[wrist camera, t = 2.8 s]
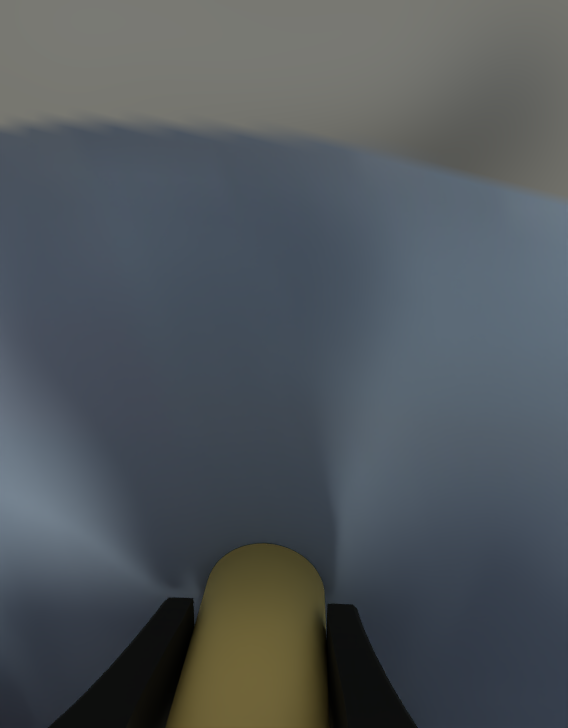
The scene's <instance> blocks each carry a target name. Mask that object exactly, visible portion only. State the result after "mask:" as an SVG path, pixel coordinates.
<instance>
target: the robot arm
mask: <svg viewBox="0 0 568 728" xmlns="http://www.w3.org/2000/svg"><path fill="white" fill-rule="evenodd" d="M193 630H194V606H193V598H168V599H167V600H165V601H164V603H163V604H162V605H161V606H160V608H159V609H158V610H157V612H156V613H155V614H154V615H153V617H152V618H151V619H150V621H149V622H148V623H147V624H146V626H145V627H144V628H143V629H142V630H141V632H140V633H139V634H138V635H137V636H136V638H135V639H134V640H133V641H132V642H131V644H130V645H129V646H128V647H127V648H126V649H125V650H124V652H123V653H122V654H121V655H120V656H119V657H118V659H117V660H116V661H115V662H114V663H113V664H112V665H111V666H110V667H109V669H108V670H107V671H106V672H105V673H104V674H103V675H102V676H101V677H100V678H99V679H98V680H97V681H96V682H95V683H94V684H93V685H92V686H91V687H90V688H89V689H88V691H87V692H86V693H85V694H84V695H83V696H82V697H81V698H80V699H79V700H77V701H76V702H75V703H74V704H73V705H72V706H71V707H70V708H69V709H68V710H67V711H66V712H65V713H64V714H63V715H62V716H60V717H59V718H58V719H57V720H56V721H55V722H54V723H53V724H52V725H50V726H49V727H48V728H165V727H166V723H167V720H168V716H169V713H170V710H171V706H172V703H173V699H174V696H175V692H176V689H177V685H178V682H179V678H180V675H181V671H182V668H183V664H184V661H185V657H186V654H187V651H188V647H189V644H190V640H191V637H192V633H193ZM326 645H327V672H328V700H329V727H330V728H418V727H417V726H416V724H415V723H414V721H413V720H412V718H411V717H410V715H409V713H408V712H407V710H406V709H405V707H404V705H403V704H402V702H401V700H400V699H399V697H398V695H397V694H396V692H395V690H394V688H393V687H392V685H391V683H390V681H389V679H388V678H387V676H386V674H385V672H384V670H383V668H382V666H381V664H380V662H379V661H378V659H377V657H376V654H375V652H374V650H373V648H372V646H371V644H370V642H369V639H368V637H367V635H366V633H365V630H364V628H363V625H362V623H361V620H360V617H359V614H358V610H357V608H356V607H355V606H354V605H351V604H328V605H327V638H326Z"/></svg>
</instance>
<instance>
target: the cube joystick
mask: <svg viewBox="0 0 568 728" xmlns="http://www.w3.org/2000/svg"><path fill="white" fill-rule="evenodd" d="M165 728H330V727H329V700H328V672H327V645H326V617H325V592H324V586H323V583H322V580H321V577H320V576H319V574H318V572H317V570H316V569H315V568H314V566H313V565H312V564H311V563H310V562H309V561H308V560H307V559H306V558H304V557H303V556H302V555H300V554H298V553H297V552H295V551H293V550H291V549H289V548H286V547H283V546H279V545H274V544H265V543H263V544H251V545H246V546H243V547H240V548H237V549H235V550H233V551H231V552H229V553H228V554H226V555H225V556H224V557H222V558H221V559H220V560H219V561H218V562H217V564H216V565H215V566H214V568H213V569H212V571H211V573H210V575H209V578H208V581H207V585H206V588H205V592H204V595H203V598H202V602H201V605H200V609H199V612H198V616H197V619H196V623H195V626H194V630H193V633H192V637H191V640H190V644H189V647H188V651H187V654H186V657H185V661H184V664H183V668H182V671H181V675H180V678H179V682H178V685H177V689H176V692H175V696H174V699H173V703H172V706H171V710H170V713H169V716H168V720H167V723H166V727H165Z"/></svg>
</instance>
